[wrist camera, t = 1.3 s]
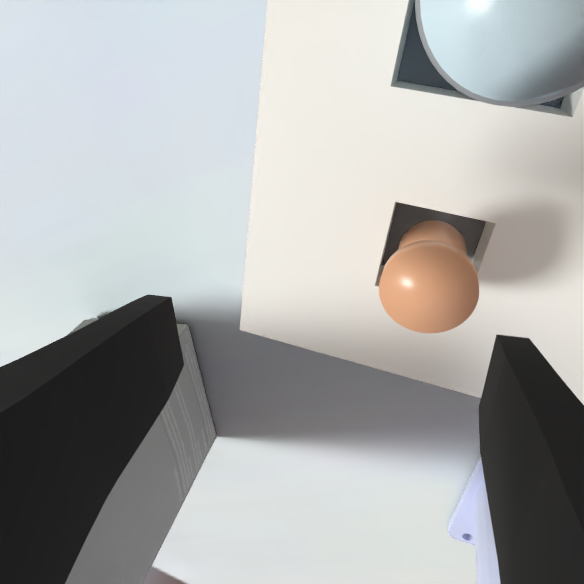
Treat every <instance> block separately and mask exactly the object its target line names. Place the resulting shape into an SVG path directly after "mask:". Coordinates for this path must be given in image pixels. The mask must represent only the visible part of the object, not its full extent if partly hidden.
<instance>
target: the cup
mask: <svg viewBox="0 0 584 584" xmlns="http://www.w3.org/2000/svg"><path fill="white" fill-rule="evenodd" d="M415 11H416V21H417V26H418V31H419V35H420V38H421V41H422V44H423V47H424V49H425V51H426V53H427V55H428V57H429V59H430V61H431V62H432V64H433V65H434V67H435V68H436V70H437V71H438V72H439V73H440V75H441V76H442V77H443V78H444V79H445V80H446V81H447V82H448V83H449V84H451V85H452V86H453V87H454V88H456V89H457V90H458V91H460V92H462V93H463V94H465V95H467V96H469V97H471V98H473V99H476V100H478V101H481V102H484V103H488V104H492V105H498V106H508V107H518V106H530V105H536V104H542V103H545V102H549V101H553V100H556V99H559V98H561V97H564V96H566V95H568V94H571V93H573V92H575V91H577V90H579V89H580V88H582V87H584V0H415Z"/></svg>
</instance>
